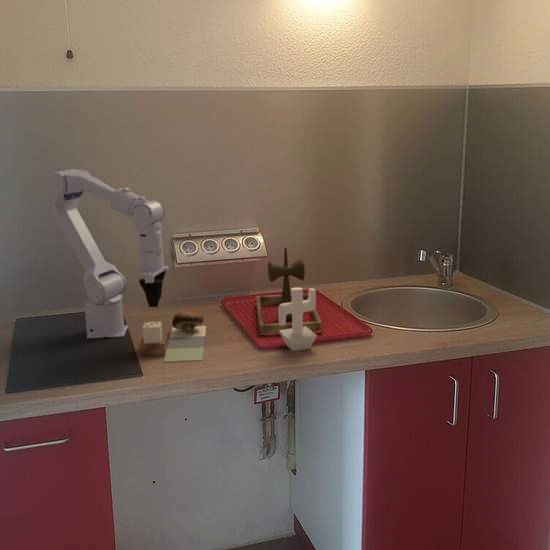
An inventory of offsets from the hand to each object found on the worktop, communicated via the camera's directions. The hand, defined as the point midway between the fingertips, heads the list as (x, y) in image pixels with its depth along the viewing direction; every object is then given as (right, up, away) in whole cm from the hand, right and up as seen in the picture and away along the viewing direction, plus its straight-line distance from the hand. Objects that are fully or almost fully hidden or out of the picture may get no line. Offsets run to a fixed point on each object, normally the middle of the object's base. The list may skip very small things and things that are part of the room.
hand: (154, 303), depth 172 cm
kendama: (+33, -5, +17) cm, 38 cm away
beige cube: (+1, -9, -6) cm, 11 cm away
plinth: (+1, -12, -5) cm, 13 cm away
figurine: (+36, -11, -4) cm, 38 cm away
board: (+8, -10, 0) cm, 13 cm away
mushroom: (+7, -8, +8) cm, 13 cm away
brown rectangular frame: (+33, -5, +17) cm, 38 cm away
